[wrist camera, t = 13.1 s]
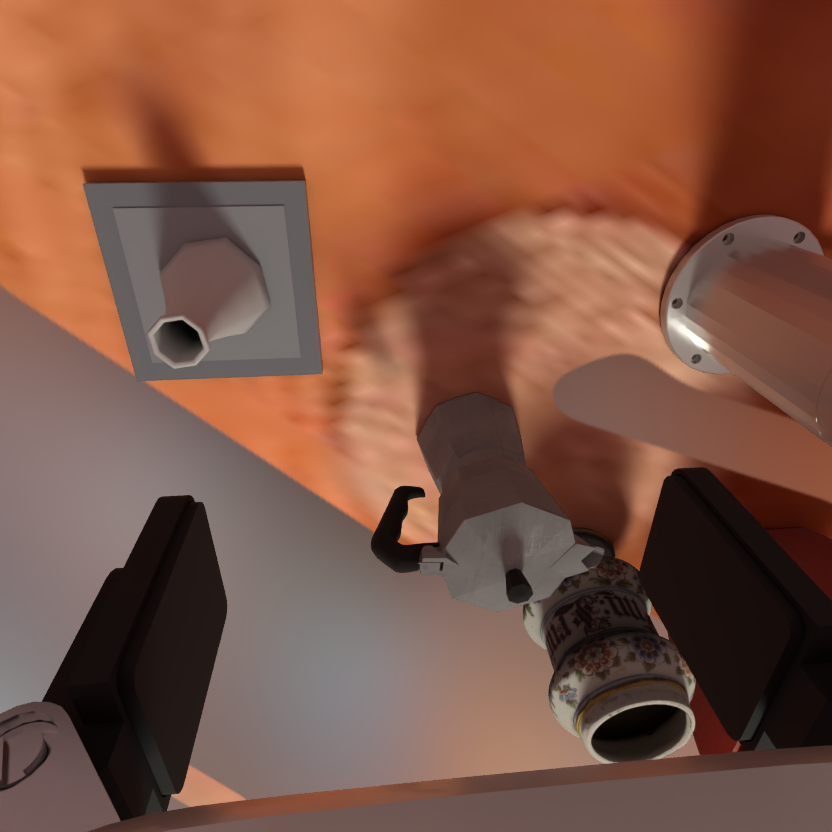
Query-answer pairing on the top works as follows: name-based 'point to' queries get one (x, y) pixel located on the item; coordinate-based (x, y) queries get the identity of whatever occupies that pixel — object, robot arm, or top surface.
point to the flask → (206, 300)
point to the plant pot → (828, 569)
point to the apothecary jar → (612, 663)
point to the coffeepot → (485, 513)
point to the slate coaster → (201, 220)
